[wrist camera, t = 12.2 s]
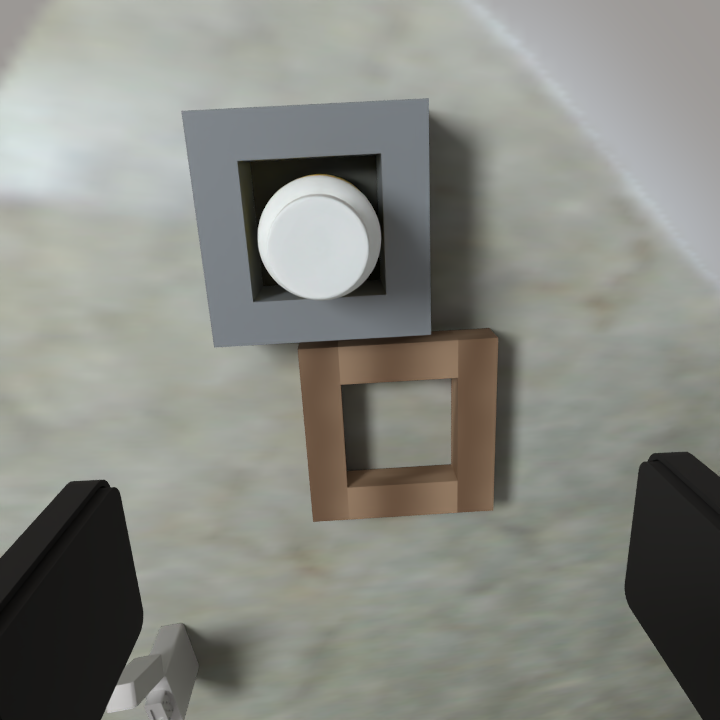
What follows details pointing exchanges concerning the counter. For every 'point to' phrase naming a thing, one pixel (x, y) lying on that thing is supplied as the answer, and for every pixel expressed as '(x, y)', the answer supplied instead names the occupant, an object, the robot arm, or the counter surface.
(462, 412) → the shallow holder
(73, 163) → the counter surface
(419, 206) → the socket block
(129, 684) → the silver flip-top case
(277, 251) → the supplement bottle
